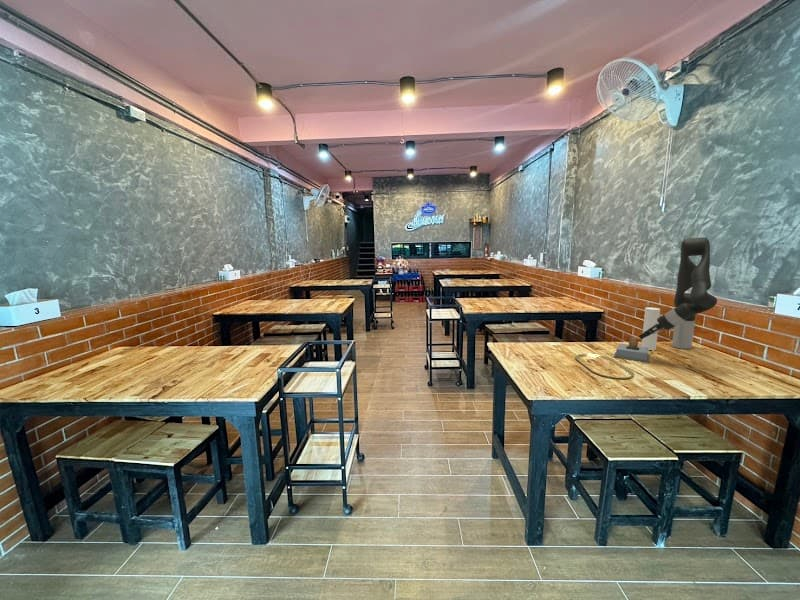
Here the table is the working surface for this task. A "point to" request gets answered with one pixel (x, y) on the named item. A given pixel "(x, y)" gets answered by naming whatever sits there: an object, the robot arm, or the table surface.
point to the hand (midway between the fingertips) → (642, 336)
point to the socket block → (632, 353)
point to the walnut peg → (633, 343)
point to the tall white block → (649, 321)
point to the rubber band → (609, 360)
